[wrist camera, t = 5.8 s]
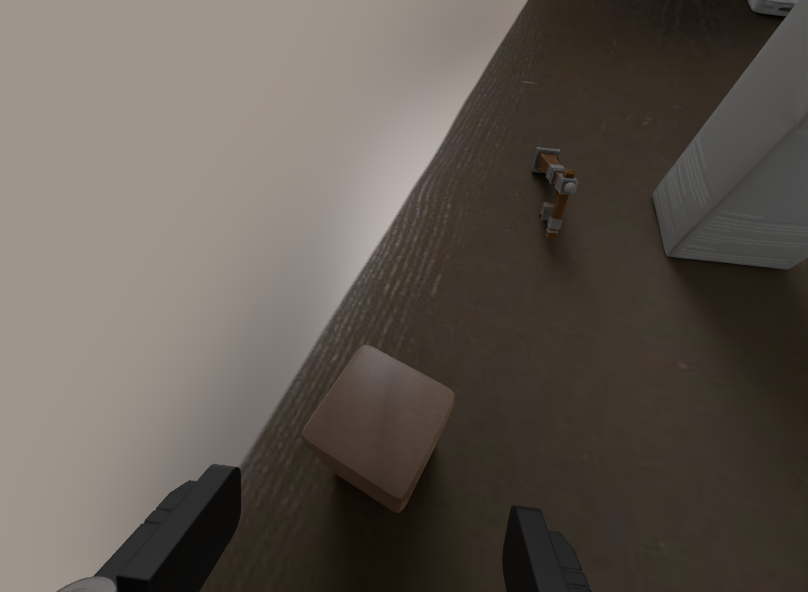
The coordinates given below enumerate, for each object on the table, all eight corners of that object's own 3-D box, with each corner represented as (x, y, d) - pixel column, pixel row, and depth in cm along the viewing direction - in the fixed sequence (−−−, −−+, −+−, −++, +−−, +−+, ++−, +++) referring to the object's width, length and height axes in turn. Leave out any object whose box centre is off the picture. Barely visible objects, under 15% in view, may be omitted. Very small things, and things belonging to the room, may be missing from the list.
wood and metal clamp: (540, 242, 26) (560, 174, 23) (522, 200, 32) (537, 144, 30) (567, 245, 26) (591, 178, 23) (544, 203, 32) (561, 146, 30)
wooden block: (330, 470, 19) (293, 436, 12) (373, 401, 21) (362, 337, 14) (400, 516, 18) (403, 507, 11) (438, 439, 20) (461, 390, 13)
